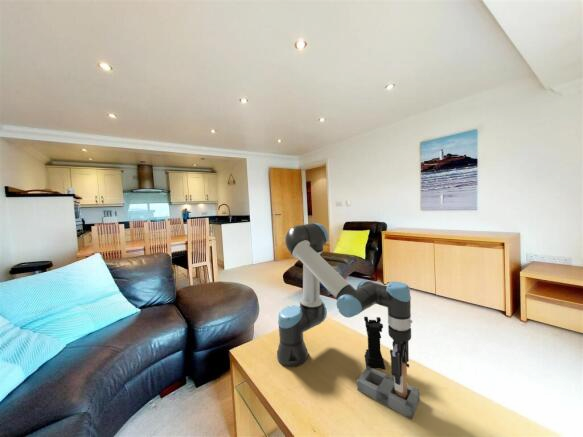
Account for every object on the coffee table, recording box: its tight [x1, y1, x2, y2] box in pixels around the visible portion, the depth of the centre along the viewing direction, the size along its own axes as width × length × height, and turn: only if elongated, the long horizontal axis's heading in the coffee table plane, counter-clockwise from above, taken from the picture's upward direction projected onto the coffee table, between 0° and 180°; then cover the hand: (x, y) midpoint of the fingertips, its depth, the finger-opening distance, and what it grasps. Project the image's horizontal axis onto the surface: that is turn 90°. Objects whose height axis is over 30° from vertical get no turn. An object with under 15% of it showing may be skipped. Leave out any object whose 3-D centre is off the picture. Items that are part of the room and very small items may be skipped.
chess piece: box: [363, 316, 386, 370], centre depth 107 cm, size 8×8×20 cm
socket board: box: [356, 366, 421, 420], centre depth 90 cm, size 20×10×4 cm, turn 48°
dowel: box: [395, 362, 408, 401], centre depth 86 cm, size 4×4×14 cm
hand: (400, 386), depth 86 cm, fingers closed on dowel, 4 cm apart
